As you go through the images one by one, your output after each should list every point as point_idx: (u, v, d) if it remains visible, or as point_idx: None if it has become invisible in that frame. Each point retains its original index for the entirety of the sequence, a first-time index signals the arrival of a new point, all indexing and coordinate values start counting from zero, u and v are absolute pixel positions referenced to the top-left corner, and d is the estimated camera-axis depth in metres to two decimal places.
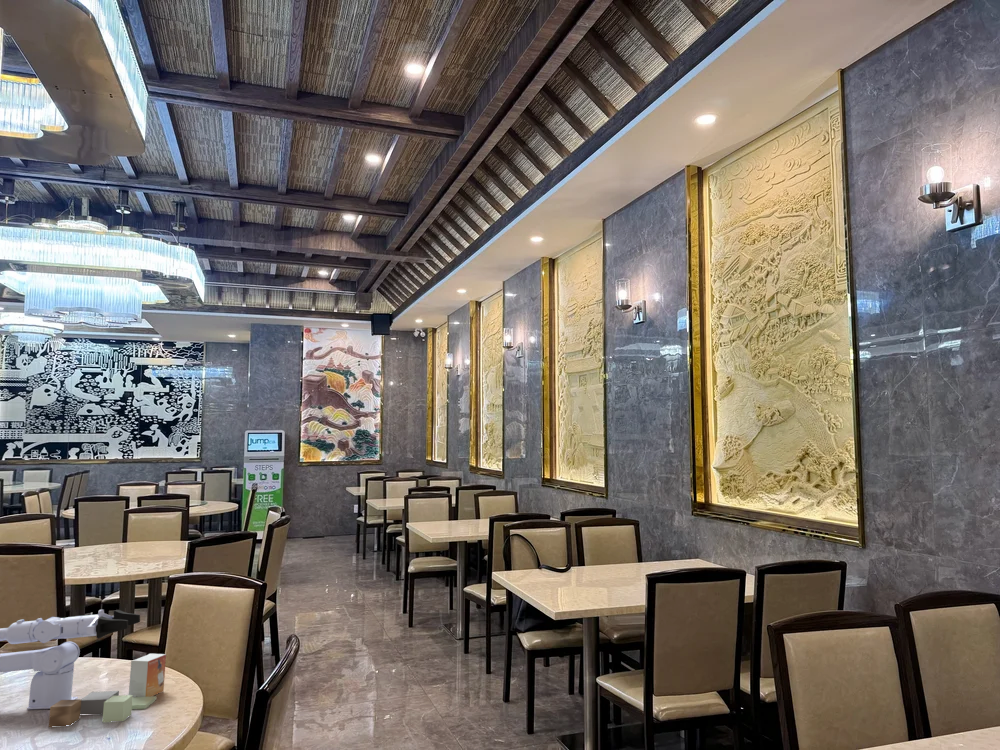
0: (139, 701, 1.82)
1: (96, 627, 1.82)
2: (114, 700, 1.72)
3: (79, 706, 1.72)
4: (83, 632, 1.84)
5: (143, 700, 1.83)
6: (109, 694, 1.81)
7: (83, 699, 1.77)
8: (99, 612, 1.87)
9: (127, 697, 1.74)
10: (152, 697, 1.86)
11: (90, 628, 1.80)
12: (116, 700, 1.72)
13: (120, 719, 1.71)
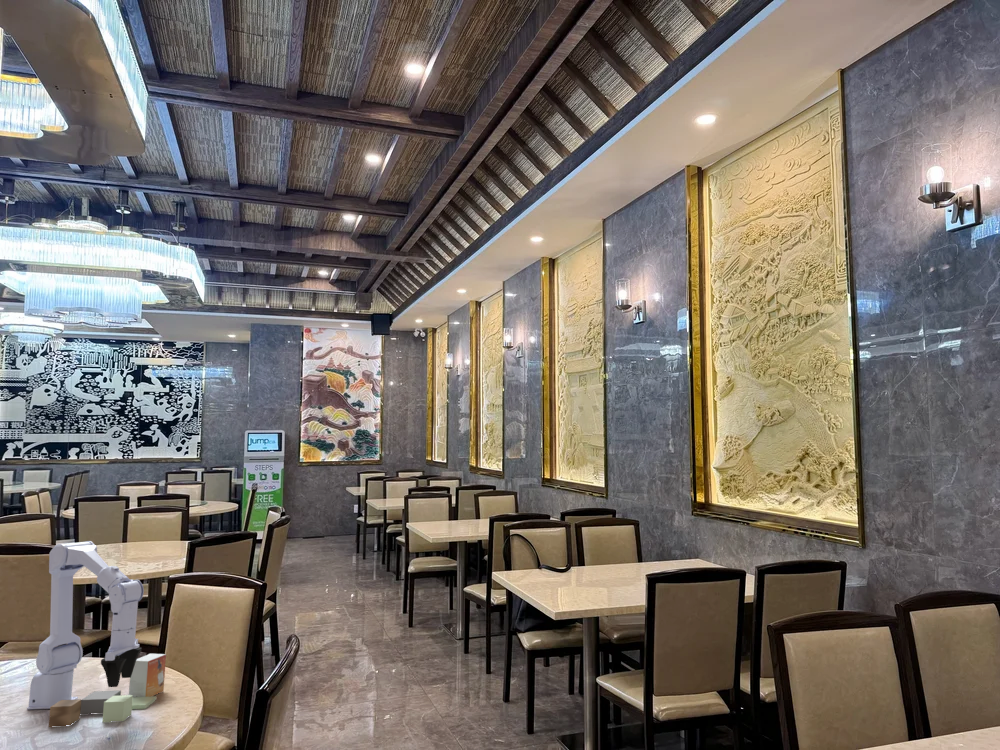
0: (139, 701, 1.82)
1: None
2: (114, 700, 1.72)
3: (79, 706, 1.72)
4: (114, 635, 1.73)
5: (143, 700, 1.83)
6: (111, 693, 1.81)
7: (85, 698, 1.77)
8: (134, 647, 1.75)
9: (127, 697, 1.74)
10: (152, 697, 1.86)
11: (111, 657, 1.68)
12: (116, 700, 1.72)
13: (120, 719, 1.71)
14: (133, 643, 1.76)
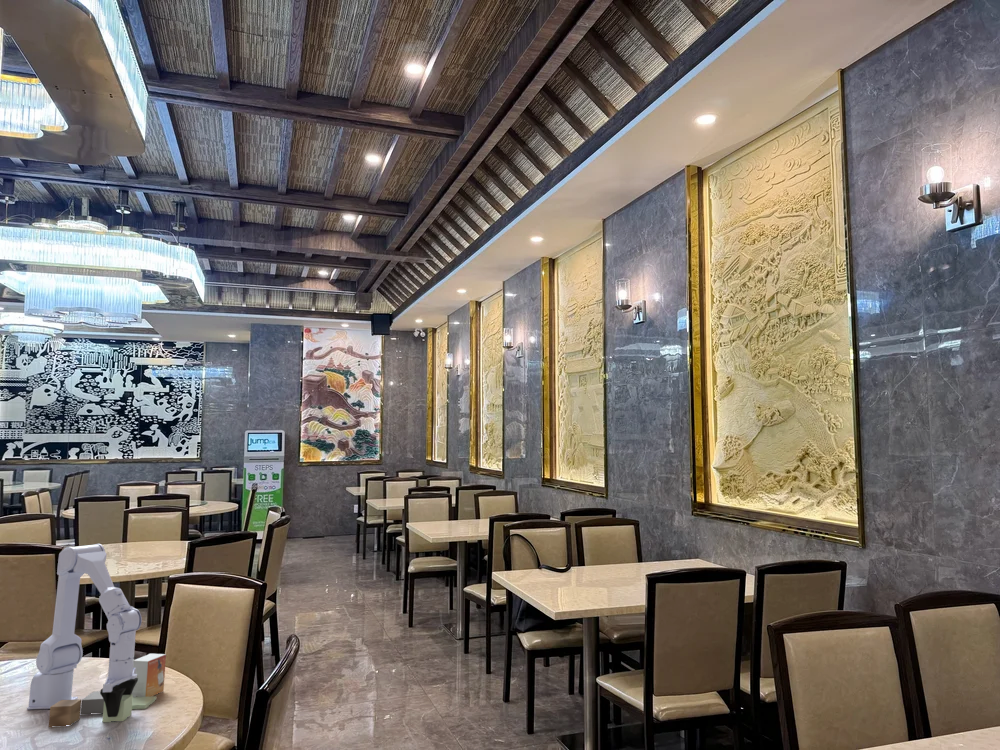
0: (139, 701, 1.82)
1: (110, 691, 1.68)
2: None
3: (79, 706, 1.72)
4: (111, 666, 1.72)
5: (143, 700, 1.83)
6: None
7: (86, 698, 1.77)
8: (132, 677, 1.74)
9: (127, 697, 1.74)
10: (152, 697, 1.86)
11: (108, 688, 1.67)
12: None
13: (120, 719, 1.71)
14: (131, 673, 1.75)
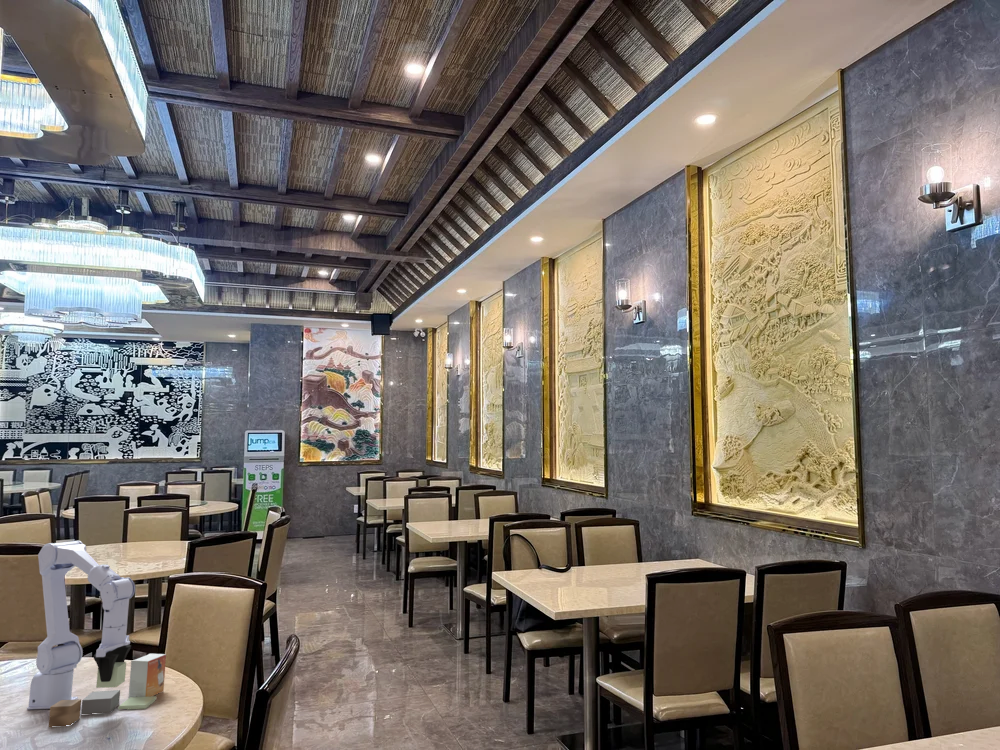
0: (139, 701, 1.82)
1: (103, 656, 1.72)
2: None
3: (79, 706, 1.72)
4: (105, 632, 1.76)
5: (143, 700, 1.83)
6: (111, 693, 1.81)
7: (86, 699, 1.77)
8: (125, 644, 1.78)
9: (121, 664, 1.78)
10: (152, 697, 1.86)
11: (101, 653, 1.71)
12: None
13: (113, 684, 1.75)
14: (124, 640, 1.78)
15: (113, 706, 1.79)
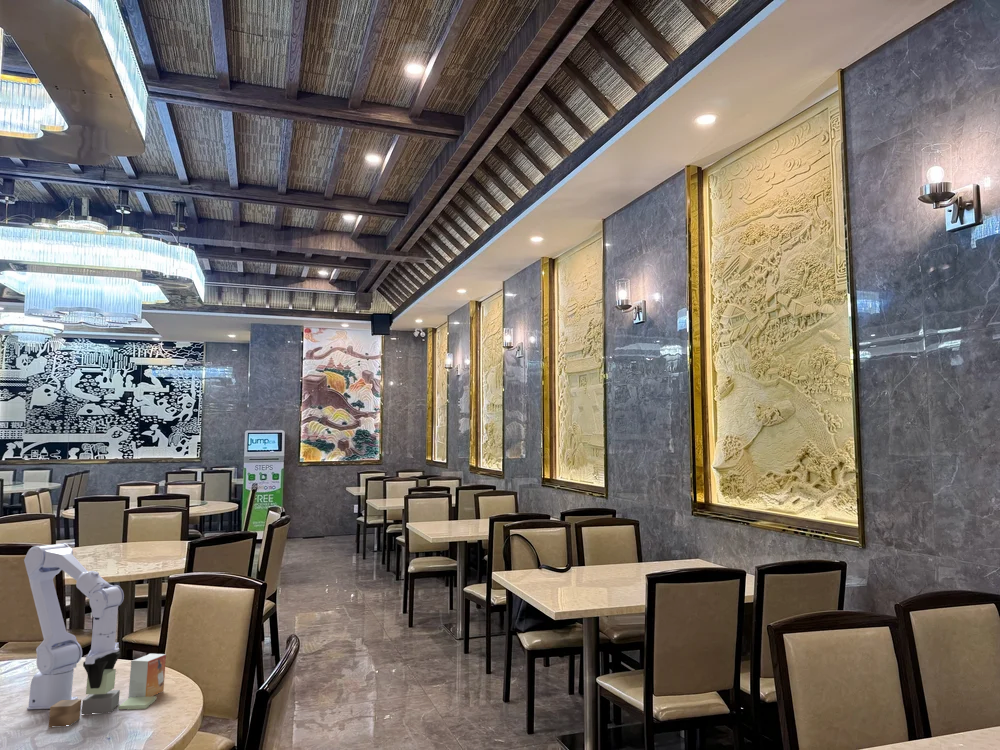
0: (139, 701, 1.82)
1: (92, 663, 1.75)
2: None
3: (79, 706, 1.72)
4: (94, 640, 1.79)
5: (143, 700, 1.83)
6: (111, 693, 1.81)
7: (86, 699, 1.77)
8: (114, 651, 1.81)
9: (110, 670, 1.81)
10: (152, 697, 1.86)
11: (91, 660, 1.74)
12: None
13: (103, 691, 1.77)
14: (113, 647, 1.81)
15: (113, 706, 1.79)
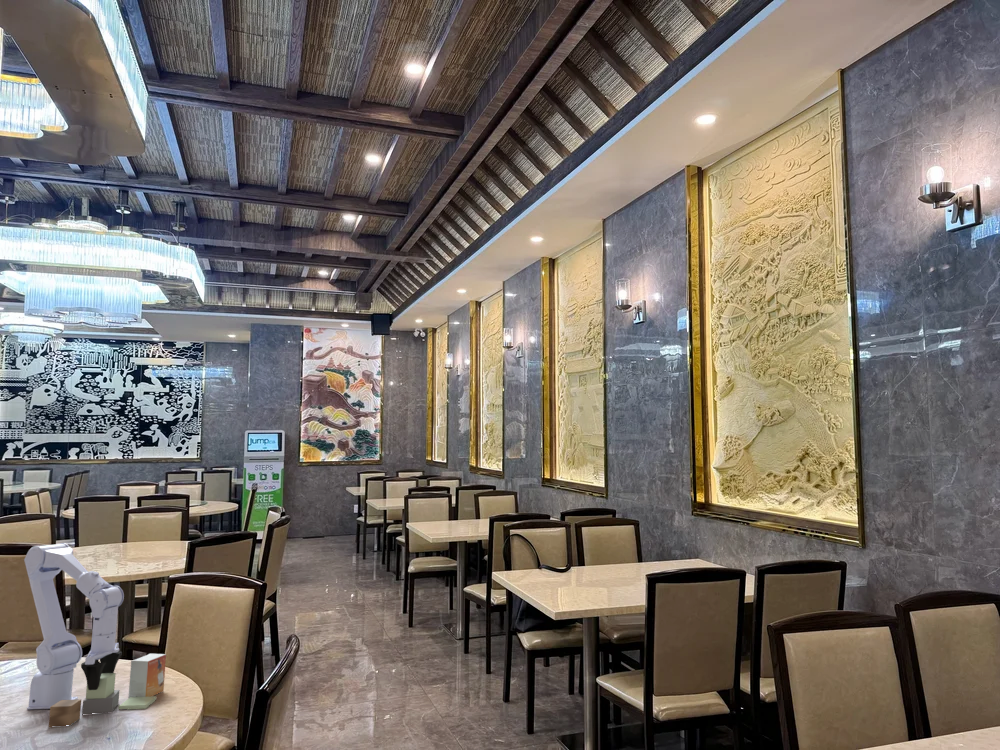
0: (139, 701, 1.82)
1: (92, 664, 1.75)
2: None
3: (79, 706, 1.72)
4: (94, 640, 1.79)
5: (143, 700, 1.83)
6: None
7: (87, 699, 1.77)
8: (114, 651, 1.81)
9: (110, 675, 1.81)
10: (152, 697, 1.86)
11: (91, 661, 1.74)
12: None
13: (103, 695, 1.77)
14: (113, 647, 1.81)
15: (114, 706, 1.80)
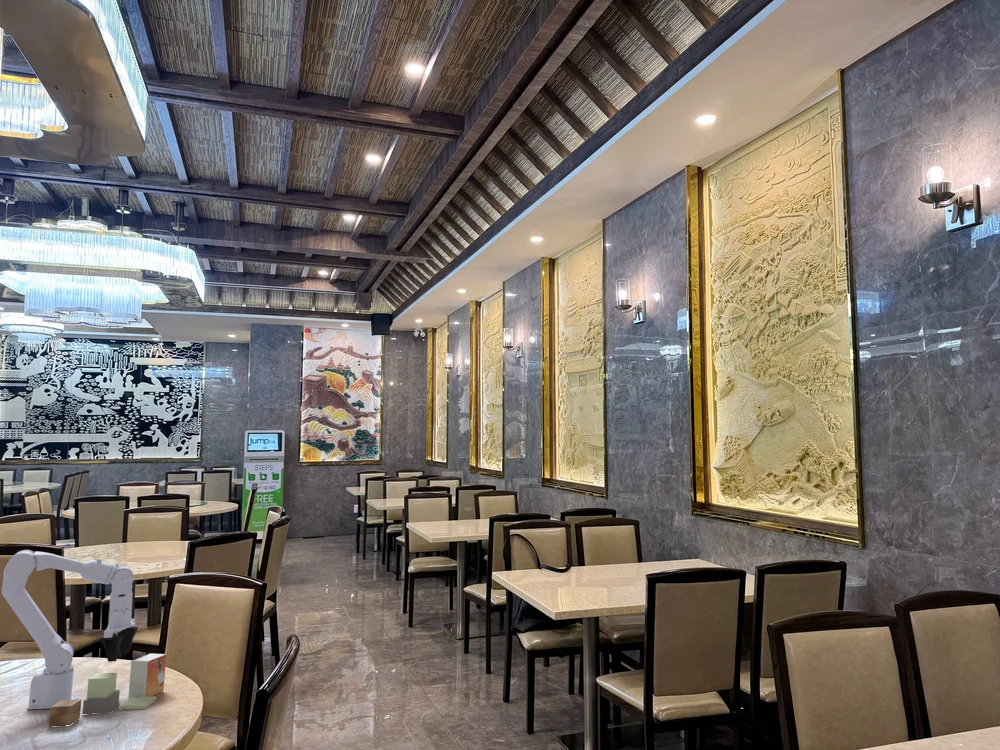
0: (139, 701, 1.82)
1: None
2: (98, 677, 1.80)
3: (79, 706, 1.72)
4: (111, 615, 1.91)
5: (143, 700, 1.83)
6: None
7: (87, 699, 1.77)
8: (130, 626, 1.93)
9: (111, 674, 1.82)
10: (152, 697, 1.86)
11: (109, 634, 1.86)
12: (100, 677, 1.79)
13: (104, 695, 1.78)
14: (129, 622, 1.94)
15: (114, 706, 1.80)
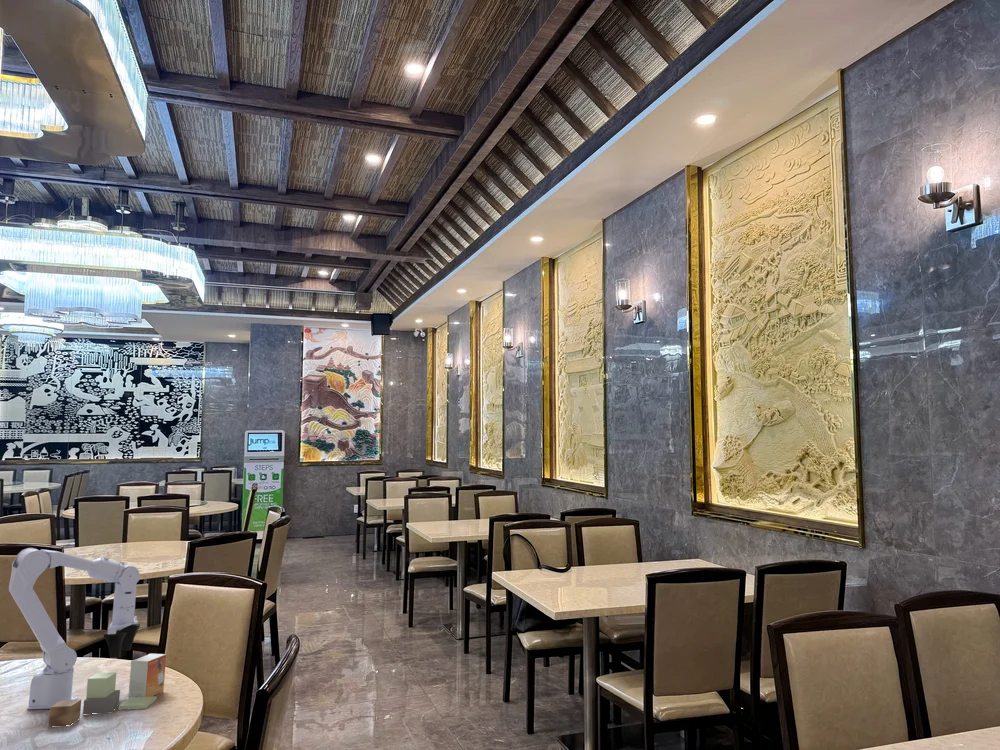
0: (139, 701, 1.82)
1: (114, 633, 1.91)
2: (97, 676, 1.80)
3: (79, 706, 1.72)
4: (115, 612, 1.95)
5: (143, 700, 1.83)
6: (112, 693, 1.82)
7: (88, 699, 1.77)
8: (133, 623, 1.97)
9: (110, 674, 1.82)
10: (152, 697, 1.86)
11: (112, 631, 1.90)
12: (99, 677, 1.79)
13: (103, 695, 1.78)
14: (132, 619, 1.97)
15: (115, 706, 1.80)
